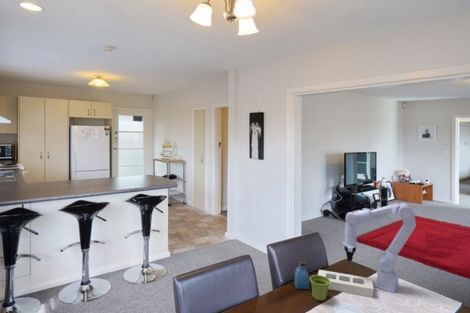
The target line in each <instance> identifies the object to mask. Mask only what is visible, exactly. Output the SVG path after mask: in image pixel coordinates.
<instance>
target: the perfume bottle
mask: <svg viewBox="0 0 470 313" xmlns="http://www.w3.org/2000/svg"><path fill="white" fill-rule="evenodd" d="M298 262H299V264H298V266H297V267H296V269H295V270H294V281H293V283H294V285H295V289H296V290H297V289H298V290H309V289H310V277H311V276H310V275H309V271H308V270H307V268H306V267H307V264H306V262H305V261H303V260H301V261H298Z"/></svg>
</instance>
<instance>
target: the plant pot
mask: <svg viewBox="0 0 470 313" xmlns="http://www.w3.org/2000/svg"><path fill="white" fill-rule="evenodd" d="M309 277H310V279H309V282H310V284H311V293H312V294H311V295H312V298H313V299H315V301H320V302H321V301H325V300H327V295H328V291H329V289H328V286H329V284H330V282H331V281H330V279H328V278H327V277H324V276H321V275H318V274H316V275H315V274H313V275H311V276H309Z"/></svg>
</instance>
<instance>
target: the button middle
mask: <svg viewBox="0 0 470 313" xmlns="http://www.w3.org/2000/svg"><path fill="white" fill-rule="evenodd" d="M340 280H342V281H348V282H349V277H346V276H340Z"/></svg>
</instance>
